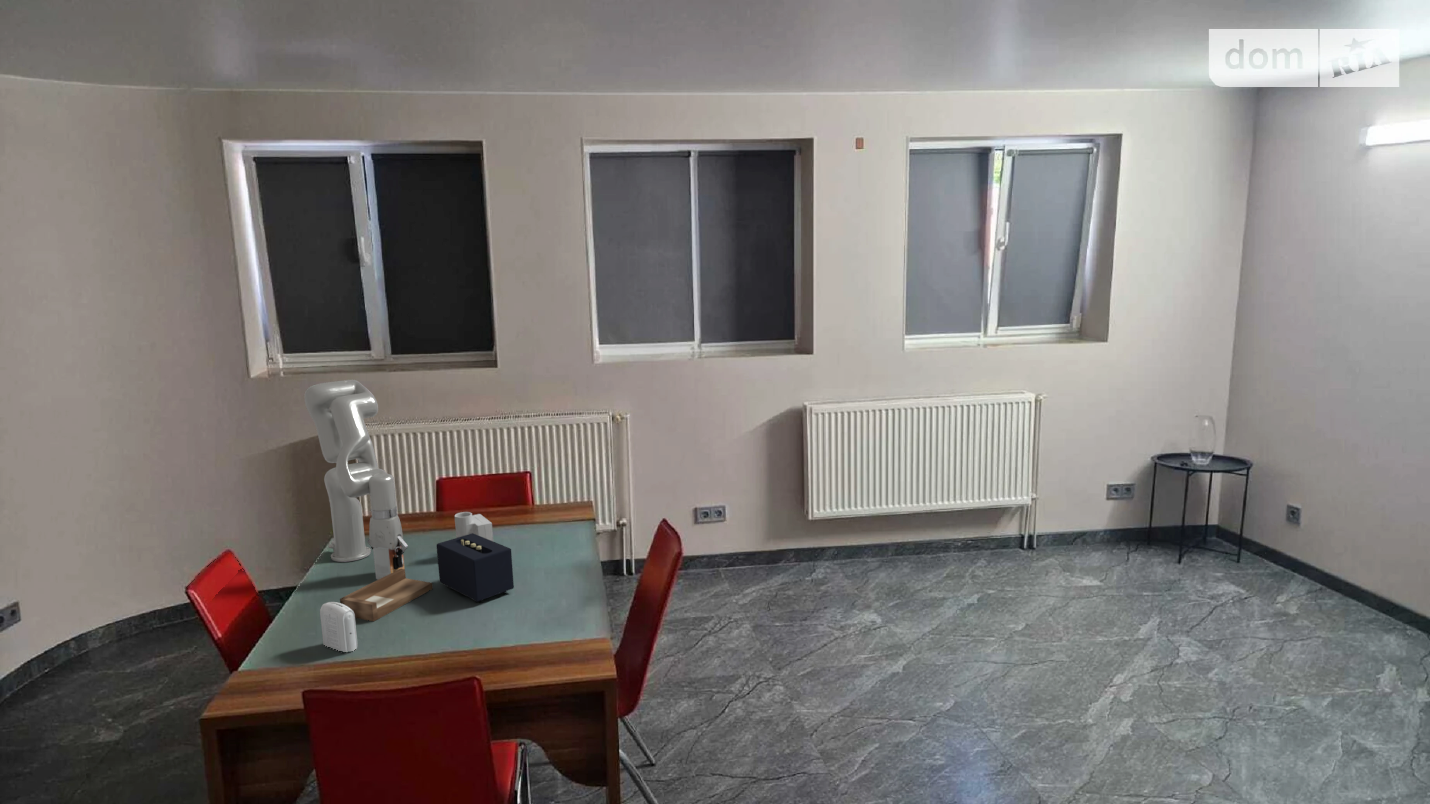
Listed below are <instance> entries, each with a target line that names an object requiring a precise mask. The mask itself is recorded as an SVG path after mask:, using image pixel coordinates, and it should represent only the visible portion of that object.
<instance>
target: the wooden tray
mask: <svg viewBox="0 0 1430 804" xmlns="http://www.w3.org/2000/svg"><path fill="white" fill-rule="evenodd" d="M429 590H430V591H431V590H433V582H430V581H424V580H419V579H412V578H407V576H406V569H399V570H397V571H395V572H393V573H391V574H389V575H387V576H385V577H383V578H381V579H376V580H375V581H373V582H371V583H369V584H367V585H365V586H363V587H361V588H359V589H357V590H355V591H352V592H351V593H349V594H347V595H345V596H343V597H341V598H339V603H341V604H344V605H346V606H347V607H349V608H350V609H351V610H352V611H353V612H354V614H355V619H359V620H365V621H368V620H369V621H370V622H375V621H377V620H380V618H383V617H385V616H387V615H388V614H390V613H392V612H394V611H395V610H398V609H399V608H401V607H402V606H404V605H406V604H408V603H410V602H411V600H412V601H414V600H415V599H418V598H419V597H421V596H422V595H424V594H427V593H428V592H430V591H429ZM369 621H368V622H369Z"/></svg>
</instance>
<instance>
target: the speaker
mask: <svg viewBox="0 0 1430 804" xmlns="http://www.w3.org/2000/svg"><path fill="white" fill-rule="evenodd" d="M436 555H437V567H438V577H439V583H440V584H441V585H444V586H446V587H447V588H448V589H452V590H454V592H457V593H460V594H461V595H464V596H465V597H467V598H470V599H471V600H473V601H475V603H478V604H479V603H481V602H483V600H486V599H488V598H491V597H494V596H497V595H499V594H501V593H503V594H506V593H507V591H511V590H513V589H514V588H515V585H514V572H513V571H514V570H513V559H512V558H513V557H512V549H511V548H510V547H508V546H506V545H503V544H501V543H497V542H495V541H494V540H493V541H491V540H488V539H486V538H483V537H481V536H479V535H476V534H474V533H472V534H468V535H465V536H461V537H458V538H456V537H455V538H451V539H449V540H445V541H441V542H438V543H436ZM505 592H506V593H505Z"/></svg>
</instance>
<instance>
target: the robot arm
mask: <svg viewBox="0 0 1430 804" xmlns="http://www.w3.org/2000/svg"><path fill="white" fill-rule="evenodd" d="M303 396H304V405H305V408H306V410H307V412H308V415H309V417H310V418H311V419H312V421H313V423H314V426H315V428H316V429H315V430H316V432H317V437H318V441H319V445H320V449H321V453H322V456H323V458H324V461H326V462H327V463H329V464H334V463H335V464H336V465H335V467H333V468H330V469H329V470H328V471H326V472H325V475H324V478H323V480H324V481H323V482H324V485H325V489H326V492H327V496H328V501H329V507H330V514H331V515H330V516H331V521H332V523H331V525H332V531H333V540H332V541H331V542H330V543H329V544H328V549H333V552H332V553H331V554H330V557H331V561H333V562H338V563H348V562H354V561H359V560H362V559H364V558H367V557H369V556H370V555H371V554H372V550H373V548H375V547H382V548H389V550H392V552H393V555H394V558H393V565H394V569H398V568H400V567H402V566H403V564H402V555H403V556H404V553H405V552H406V550H407V549H408V548H409V545H408V543H406V541H405V540H404V535H403V529H402V523H401V521H400V517H399V515H398V506H397V497H396V496H397V495H396V494H397V493H396V487H395V486H396V485H395V478H394V475H392V474H390V473H387V472H386V471H385V470H384V469H382V468H379V465H378V461H377V457H376V453H375V449H374V443H373V442H372V439H371V437H370V436H371V435H370V433H369V430H368V427H367V425H366V423H365V420H364V419H368V418H374V417H375V416H376V415H378V412H379V404H378V400H377V399H376V397H375V395H374V394H373V393H372V392H371V391H370V390H369V389H368V388H367V387H366V386H364V385H363V384H362V383H361V382H360V381H358V380H356V379H345V380H338V381H328V382H320V383H317V384H314V385H311V386H309V387H308V388H307V389H306V390H305V392H304V395H303ZM351 460H357V462H354V463H349V461H351ZM368 495H369V499H370V512H371V517H370V519H369V530H368V531H369V532H368V534H369V535H368V536H369V538H368V540H367V544H369V546H370V547H368V546H366V538H365V529H364V518H363V509H362V508H363V507H362V504H361V503H362V502H360V500H359V499H358V498H360V497H364V496H368ZM400 546H401V547H400ZM396 549H397V550H398V552H397V551H396Z"/></svg>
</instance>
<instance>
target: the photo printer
mask: <svg viewBox="0 0 1430 804" xmlns="http://www.w3.org/2000/svg"><path fill="white" fill-rule="evenodd" d="M319 618H320V625H321V634H322V644H323V646H324V645H325V646H324V647H326V646H327V647H326V648H328V647H331V648H333V649H332V650H334V649H336V650H335V651H337V650H338V651H337V652H339V651H343V652H348V651H353V652H355V651H356V650H357V649H358V636H357V635H358V634H357V627H356V624H357V623H356V618H355V614H354V612H353V611H352V610H351V609H350V608H349V607H347V606H346V605H344V604H341V603H340V602H336V601H328V602H325V603H323V604H322V605H321V607H320V609H319ZM331 648H330V649H331ZM355 649H356V650H355ZM354 650H355V651H354Z"/></svg>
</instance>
